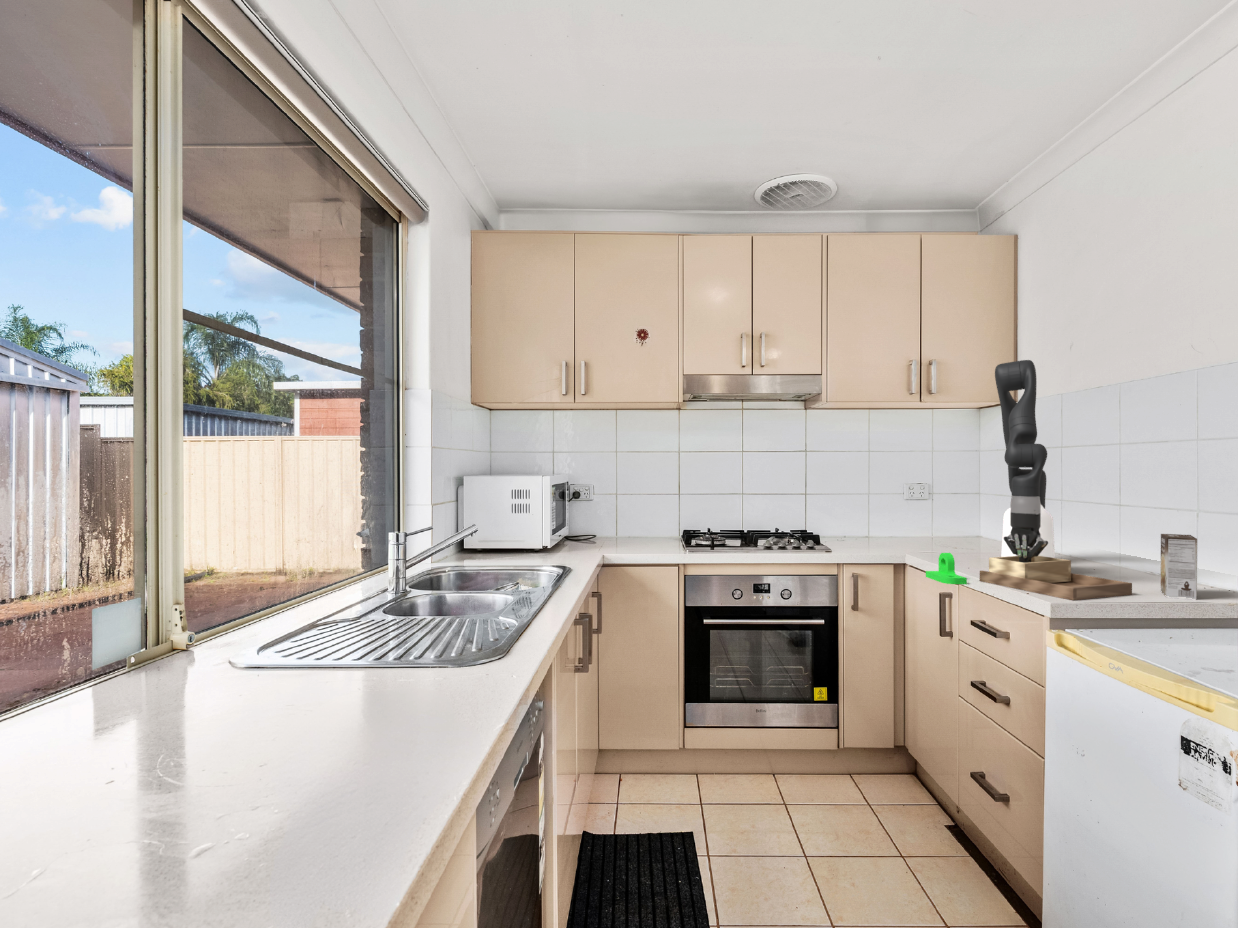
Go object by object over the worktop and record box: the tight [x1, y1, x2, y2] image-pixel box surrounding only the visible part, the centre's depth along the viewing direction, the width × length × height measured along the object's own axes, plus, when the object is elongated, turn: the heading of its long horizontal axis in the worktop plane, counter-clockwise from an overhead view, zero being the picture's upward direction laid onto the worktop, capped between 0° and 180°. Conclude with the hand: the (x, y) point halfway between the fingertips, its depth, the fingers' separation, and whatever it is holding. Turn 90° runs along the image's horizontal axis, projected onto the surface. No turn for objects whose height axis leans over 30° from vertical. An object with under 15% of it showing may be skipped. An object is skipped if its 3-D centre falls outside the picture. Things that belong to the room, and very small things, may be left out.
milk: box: [1000, 505, 1056, 558], centre depth 206 cm, size 12×12×26 cm
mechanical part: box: [925, 552, 968, 585], centre depth 192 cm, size 12×6×8 cm, turn 1°
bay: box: [979, 570, 1133, 601], centre depth 181 cm, size 28×22×3 cm
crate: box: [988, 556, 1072, 583], centre depth 187 cm, size 12×18×6 cm, turn 109°
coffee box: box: [1160, 533, 1198, 600], centre depth 170 cm, size 9×6×16 cm
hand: (1025, 570), depth 188 cm, fingers closed
